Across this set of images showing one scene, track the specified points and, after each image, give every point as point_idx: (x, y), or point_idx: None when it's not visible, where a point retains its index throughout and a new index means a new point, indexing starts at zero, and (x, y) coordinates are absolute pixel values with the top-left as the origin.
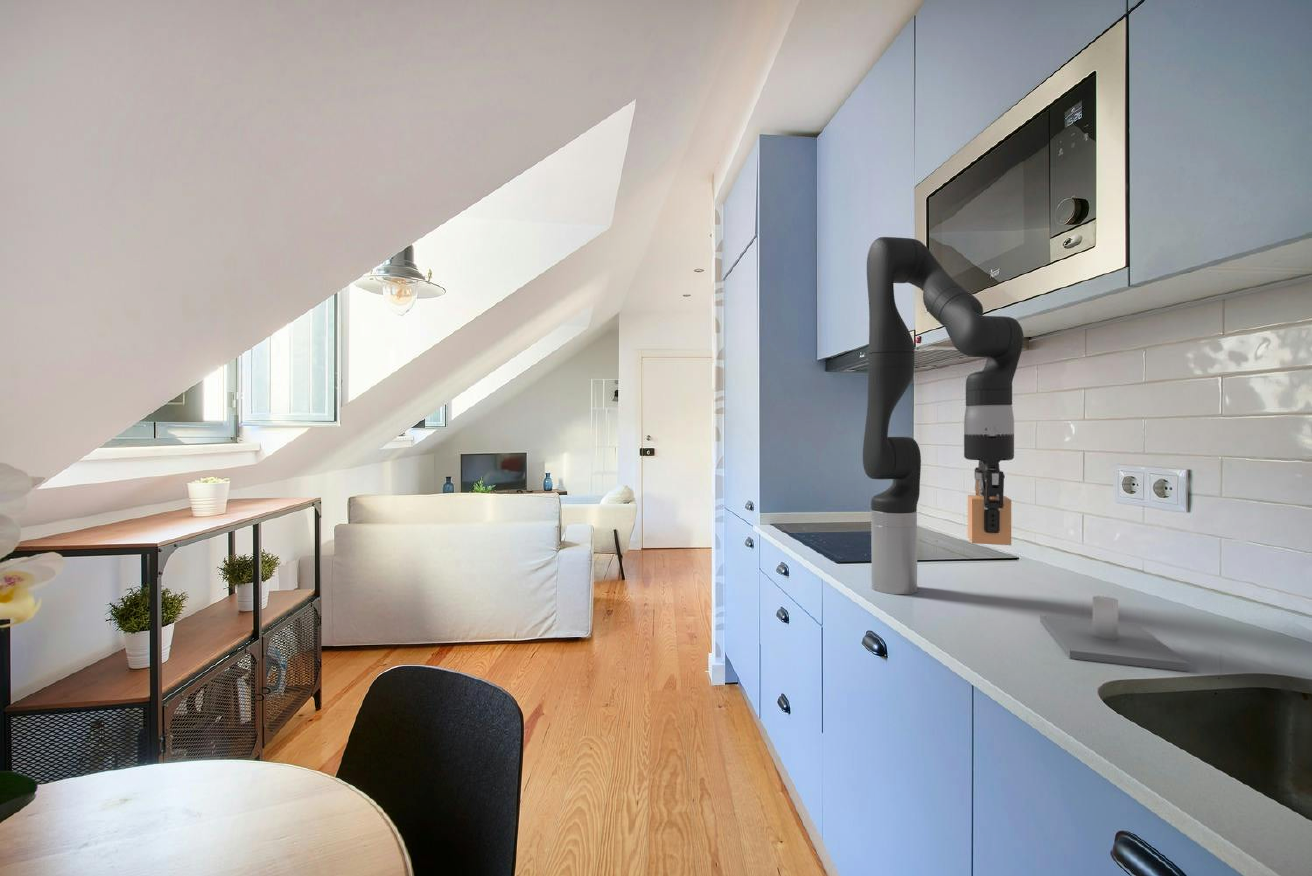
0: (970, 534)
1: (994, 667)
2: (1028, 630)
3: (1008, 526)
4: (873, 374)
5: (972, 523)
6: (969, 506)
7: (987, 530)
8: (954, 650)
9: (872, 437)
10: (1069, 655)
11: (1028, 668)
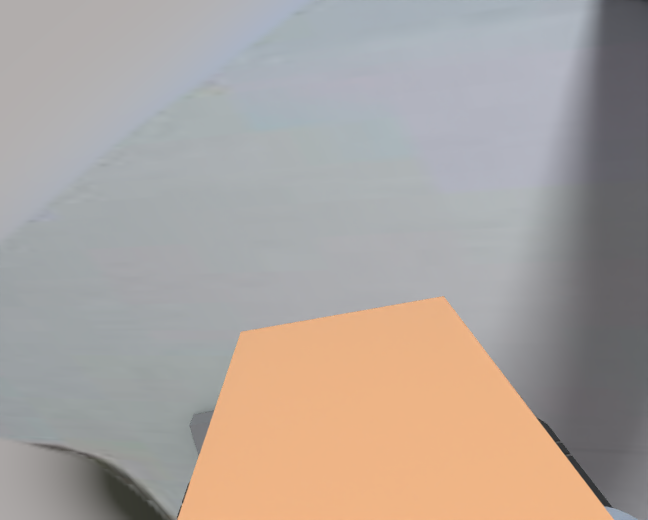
0: (307, 338)
1: (41, 281)
2: None
3: None
4: None
5: (216, 404)
6: (384, 458)
7: None
8: (102, 190)
9: None
10: (192, 418)
11: (84, 342)
